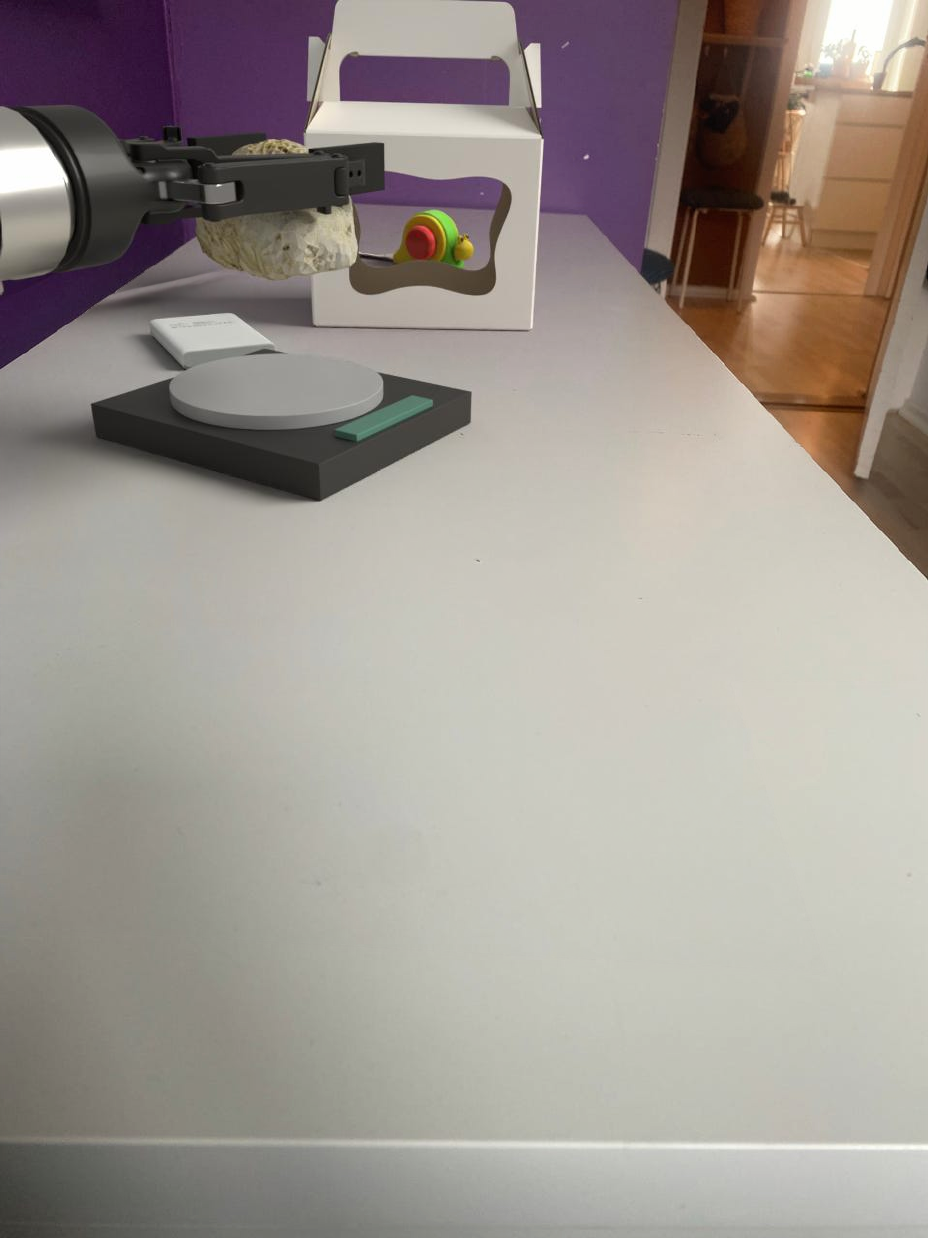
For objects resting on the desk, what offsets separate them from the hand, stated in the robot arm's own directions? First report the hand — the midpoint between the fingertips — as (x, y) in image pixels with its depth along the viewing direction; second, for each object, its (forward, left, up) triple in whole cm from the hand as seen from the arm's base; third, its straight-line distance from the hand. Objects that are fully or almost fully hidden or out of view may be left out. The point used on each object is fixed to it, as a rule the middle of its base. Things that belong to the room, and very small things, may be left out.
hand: (319, 160), depth 65 cm
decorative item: (0, -4, -6) cm, 8 cm away
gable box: (-14, +33, -18) cm, 40 cm away
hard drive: (-22, +10, -18) cm, 30 cm away
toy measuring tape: (-31, +55, -18) cm, 66 cm away
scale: (-2, -3, -18) cm, 18 cm away
